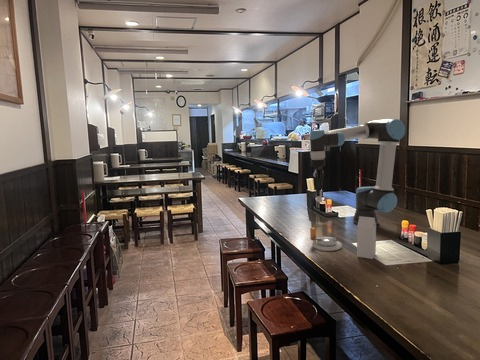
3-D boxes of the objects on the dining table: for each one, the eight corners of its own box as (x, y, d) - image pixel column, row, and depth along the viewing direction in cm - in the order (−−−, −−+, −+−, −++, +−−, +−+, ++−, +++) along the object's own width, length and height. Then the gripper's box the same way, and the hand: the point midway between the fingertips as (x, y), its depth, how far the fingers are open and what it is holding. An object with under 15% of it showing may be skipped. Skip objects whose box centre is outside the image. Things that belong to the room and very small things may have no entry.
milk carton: (372, 259, 161) (373, 219, 158) (356, 257, 165) (357, 218, 162) (375, 254, 167) (376, 216, 164) (360, 252, 171) (360, 214, 168)
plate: (343, 242, 185) (343, 237, 185) (339, 252, 172) (339, 246, 171) (315, 240, 191) (315, 235, 191) (309, 249, 178) (309, 243, 177)
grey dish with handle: (310, 240, 187) (309, 225, 186) (335, 240, 185) (335, 225, 184) (311, 246, 178) (310, 231, 176) (338, 246, 176) (338, 231, 174)
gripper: (315, 157, 194) (316, 198, 198) (306, 160, 183) (308, 203, 187) (328, 157, 190) (329, 199, 194) (320, 160, 179) (321, 204, 183)
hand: (319, 201), depth 190 cm, fingers closed
